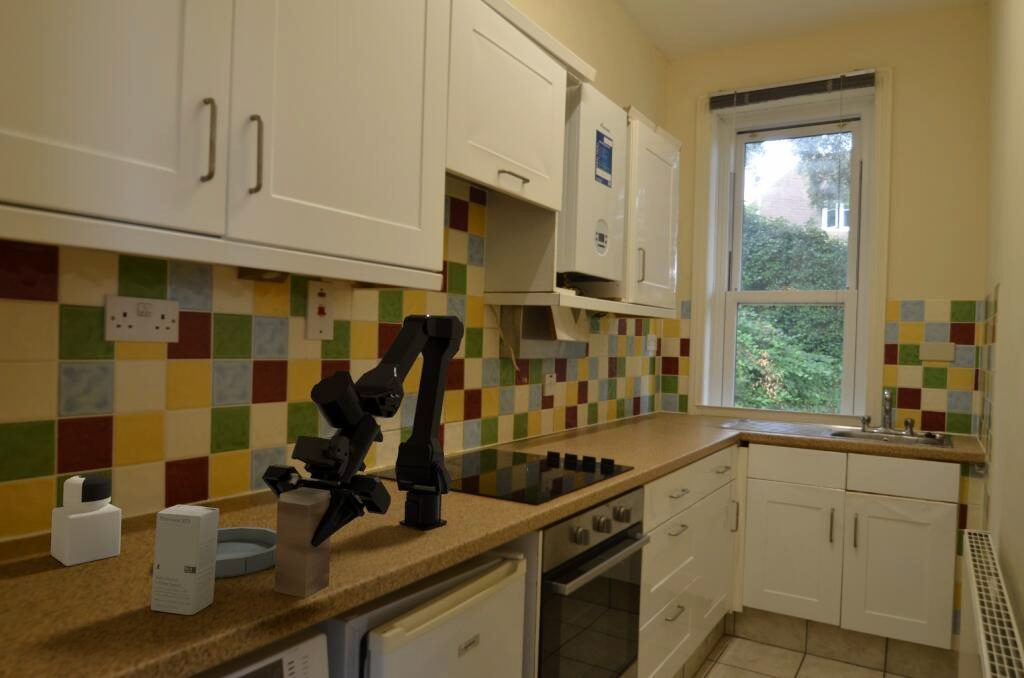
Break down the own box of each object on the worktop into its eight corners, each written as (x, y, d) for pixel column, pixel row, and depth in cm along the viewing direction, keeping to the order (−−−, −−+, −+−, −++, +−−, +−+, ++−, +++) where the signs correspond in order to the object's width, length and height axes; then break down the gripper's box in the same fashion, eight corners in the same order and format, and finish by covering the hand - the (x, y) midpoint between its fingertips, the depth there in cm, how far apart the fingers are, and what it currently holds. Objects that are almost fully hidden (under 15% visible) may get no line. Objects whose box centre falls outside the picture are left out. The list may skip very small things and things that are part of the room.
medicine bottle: (103, 545, 103) (105, 469, 103) (120, 555, 98) (123, 476, 98) (49, 555, 97) (52, 475, 97) (65, 567, 93) (68, 483, 93)
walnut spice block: (299, 579, 91) (302, 486, 91) (328, 585, 89) (332, 490, 89) (274, 591, 86) (277, 494, 87) (305, 597, 85) (308, 498, 85)
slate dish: (246, 536, 110) (247, 521, 110) (305, 557, 100) (306, 540, 100) (148, 560, 97) (149, 543, 97) (205, 586, 87) (206, 568, 87)
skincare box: (148, 611, 79) (152, 512, 79) (173, 597, 84) (176, 503, 84) (194, 616, 78) (198, 516, 78) (217, 601, 83) (220, 506, 83)
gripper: (273, 409, 95) (210, 500, 85) (382, 418, 88) (330, 519, 78) (306, 454, 102) (252, 544, 92) (410, 466, 96) (365, 564, 85)
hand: (296, 542), depth 87 cm, fingers closed on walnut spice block, 5 cm apart
